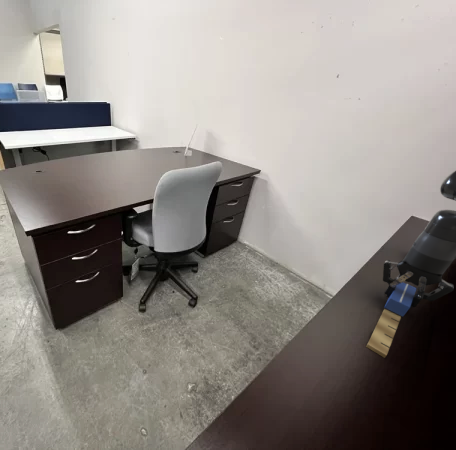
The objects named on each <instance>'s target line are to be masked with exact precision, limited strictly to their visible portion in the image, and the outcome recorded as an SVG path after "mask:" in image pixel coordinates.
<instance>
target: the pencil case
mask: <svg viewBox="0 0 456 450" xmlns="http://www.w3.org/2000/svg"><path fill="white" fill-rule="evenodd" d="M417 289H418V287H415V286H412V285H410V284H409V283H405V282H402V283H401V284H399V285H397V286H396V288H395V290H394V291H393V293H392V294H391V296H390V297H389V298H388V297H387V299H386V300H387V301H386V303H385V304H384V306H383V307H384V309H386V310H389V311H391V312H393V313H395V314H397V315H399V316H401V317H404V316H405V315H406V314H407V312H408V311H409V310H410V309H411V308H410V306H411V303H412V300H413V297H414V295H415V294H416V293H417Z"/></svg>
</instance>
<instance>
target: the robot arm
mask: <svg viewBox="0 0 456 450" xmlns="http://www.w3.org/2000/svg"><path fill="white" fill-rule="evenodd" d="M439 193H440V194H441V196H443V197H444V198H446V199H448V200H452V201H455V202H456V170H454V171H453V172H451V173H450V174H448V175H447V176H446V177H445V179H443V181H442V182H441V184H440V188H439ZM455 259H456V210H453V209H440V210H437V211H436V212H435V213H434V214H433V216H432V217H431V219H430V220H429V222H427V225H426V226H425V228H424V229H423V231H422V232H421V233H420V234H419V235H418V237H416V239H415V241H413V243H412V246H411V247H410V248H409V250H408V251H407V253H406V254H405V256H404V258H403V259H402V260H400V261H398V262H396V261H391V260H390V259H387V260H385V261H384V263H383V268H382V269H383V272H382V281H383V283H386V284H388V286H387V288H386V289H385V291H384V295H386V296H385V297H386V298H387V299H388V298H389V297H390V296H391V294H392V293H393V291H394V290H395V288H396V286H397V285H399V284H401V283H402V282H403V283H405V282H407V283H410V284H413V285H414V286H417V289H416V293H415V294H414V297H413V300H412V303H411V306H410V308H409V309H411V308H412V307H413V308H416V307H417V306H418V305H419V304H420V302H421V301H422V300H426V301H428V302H435V301H436V300H438V299H440V298H442V297H444V296H446V295H448V294H450V293H452V292H454V287H455V285H454V284H453V283H451V282H447V281H446V280H444V279H443V275H444V273H445V272H446V271H447V270H448V269H449V268H450V266H451V265H452V263H453V262H454V261H455ZM395 268H397V270H398V273H399V274H398V275H397V276H395V278H394V279H393V278H392V277H391V275H392V274H391V273H392V271H393V270H395ZM436 284H438V287H437V288H435V289H434V290H432V291H431V292H430V291H429V292H425V291H426V286H431V285H436Z"/></svg>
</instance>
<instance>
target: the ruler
mask: <svg viewBox="0 0 456 450" xmlns="http://www.w3.org/2000/svg"><path fill="white" fill-rule="evenodd" d="M401 319H402V316H401V315H399V314H397V313H394V312H392V311H390V310H388V309H386V308H384V309H383V310H382V312H381V314H380V317H379V319H378V320H377V323H376V325H375V327H374V329H373V332H372V333H371V335H370V337H369V340H368V342H367V344H366V346H365V347H366V348H367V349H368V350H370V351H372V352H374V353H376V354H377V355H379V356H381V357H382V358H383V359H385V358H386V357H387V355H388V353H389V350H390V348H391V346H392V343H393V341H394V337H395V335H396V332H397V329H398V328H399V327H398V326H399V324H400V321H401Z"/></svg>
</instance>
